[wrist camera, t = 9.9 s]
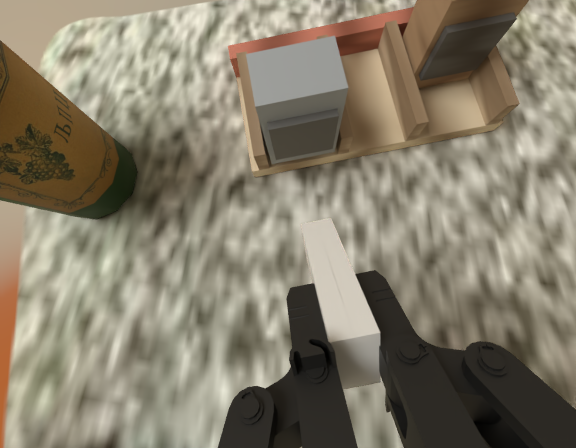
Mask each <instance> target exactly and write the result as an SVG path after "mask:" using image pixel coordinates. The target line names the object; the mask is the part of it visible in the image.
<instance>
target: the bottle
mask: <svg viewBox="0 0 576 448" xmlns="http://www.w3.org/2000/svg"><path fill="white" fill-rule="evenodd" d="M136 176H137V170H136V167H135V163H134V160H133V157H132V154H131V153H130V152H129V151H128V150H126V149H125V148H124V147H123V146H122V145H121V144H120V143H118V142H117V141H116V140H115V139H114V138H113V137H111V136H110V135H109V134H108V133H107V132H106V131H104V130H103V129H102V128H101V127H100V126H99V125H98V124H96V123H95V122H94V121H93V120H92V119H91V118H89V117H88V116H87V115H86V114H85V113H84V112H83V111H81V110H80V109H79V108H78V107H77V106H76V105H74V104H73V103H72V102H71V101H70V100H69V99H67V98H66V97H65V96H64V95H63V94H62V93H61V92H59V91H58V90H57V89H56V88H55V87H54V86H52V85H51V84H50V83H49V82H48V81H47V80H46V79H44V78H43V77H42V76H41V75H40V74H39V73H37V72H36V71H35V70H34V69H33V68H32V67H30V66H29V65H28V64H27V63H26V62H25V61H23V60H22V59H21V58H20V57H19V56H18V55H17V54H15V53H14V52H13V51H12V50H11V49H10V48H9V47H7V46H6V45H5V44H4V43H3V42H2V41H0V200H2V201H6V202H11V203H15V204H20V205H24V206H29V207H34V208H38V209H43V210H47V211H52V212H57V213H61V214H66V215H70V216H75V217H83V218H90V219H97V218H100V217H102V216H105V215H107V214H110V213H112V212H115V211H117V210H118V209H119V208H120V206H121V205H122V204H123V203H124V202H125V201H126V200H127V199H128V197H129V196H130V195H131V194H132V192H133V188H134V184H135V180H136Z"/></svg>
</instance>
